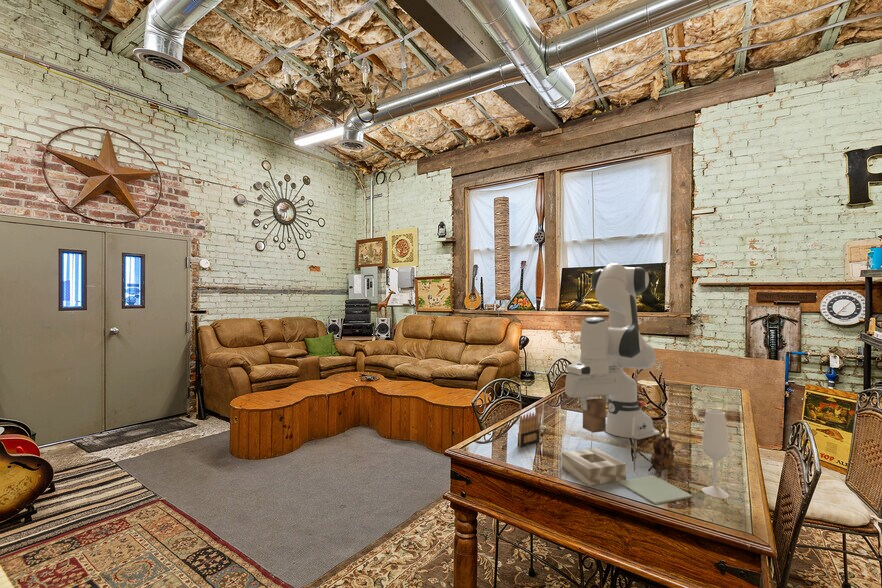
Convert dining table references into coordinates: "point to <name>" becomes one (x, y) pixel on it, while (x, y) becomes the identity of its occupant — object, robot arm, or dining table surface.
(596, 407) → the walnut peg
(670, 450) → the wooden carving
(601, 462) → the pocket block
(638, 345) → the robot arm
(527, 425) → the ammunition clip
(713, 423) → the champagne flute
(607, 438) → the dining table surface
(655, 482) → the sage mat
